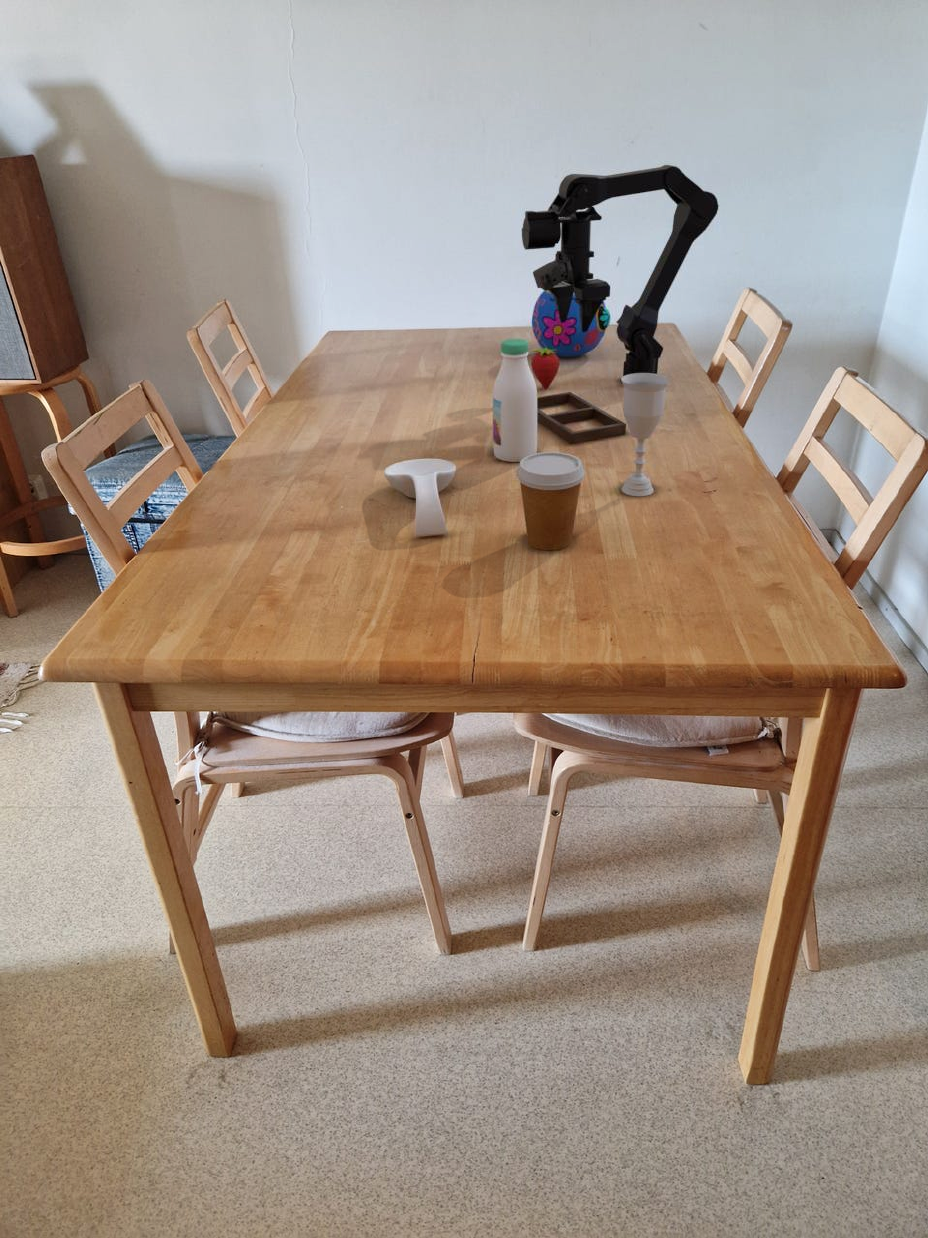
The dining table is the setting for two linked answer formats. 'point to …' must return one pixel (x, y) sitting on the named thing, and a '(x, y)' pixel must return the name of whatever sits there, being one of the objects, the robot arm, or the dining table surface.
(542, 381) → the strawberry
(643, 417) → the chalice
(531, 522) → the disposable coffee cup
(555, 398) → the brown divided wooden frame
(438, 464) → the spoon rest
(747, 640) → the dining table surface
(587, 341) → the ceramic pot
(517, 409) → the milk bottle
